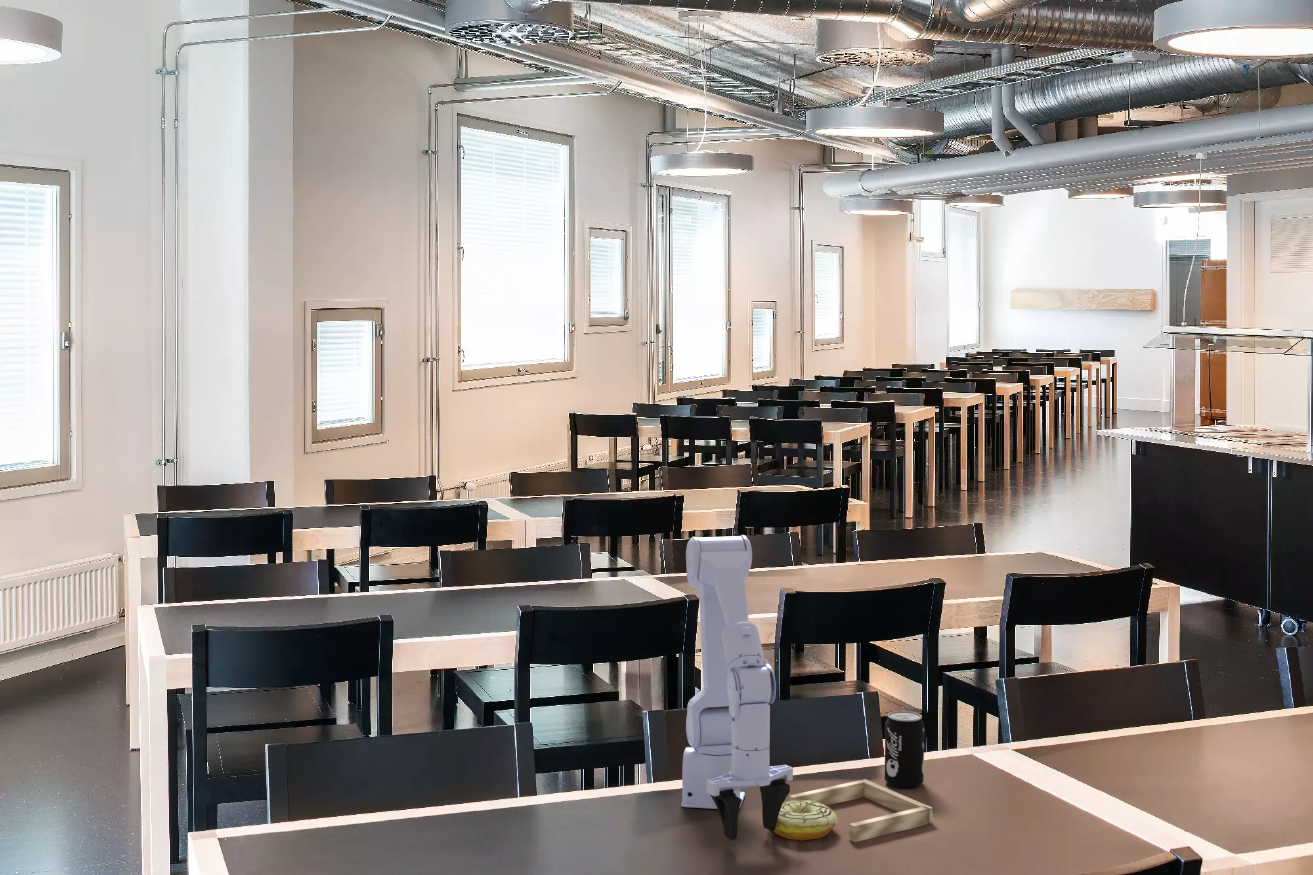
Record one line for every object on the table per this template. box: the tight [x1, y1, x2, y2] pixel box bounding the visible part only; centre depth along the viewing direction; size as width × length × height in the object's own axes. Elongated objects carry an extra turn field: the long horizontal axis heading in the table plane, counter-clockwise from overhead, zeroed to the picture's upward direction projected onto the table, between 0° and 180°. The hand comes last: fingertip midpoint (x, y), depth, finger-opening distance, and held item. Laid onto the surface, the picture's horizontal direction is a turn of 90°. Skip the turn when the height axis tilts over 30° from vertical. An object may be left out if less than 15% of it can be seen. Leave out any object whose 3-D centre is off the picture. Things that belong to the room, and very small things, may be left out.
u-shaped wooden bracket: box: [788, 778, 934, 843], centre depth 218 cm, size 16×16×2 cm
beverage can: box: [884, 710, 925, 790], centre depth 234 cm, size 7×7×12 cm
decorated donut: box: [772, 800, 839, 842], centre depth 212 cm, size 10×11×4 cm
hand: (750, 833), depth 207 cm, fingers open, 6 cm apart
